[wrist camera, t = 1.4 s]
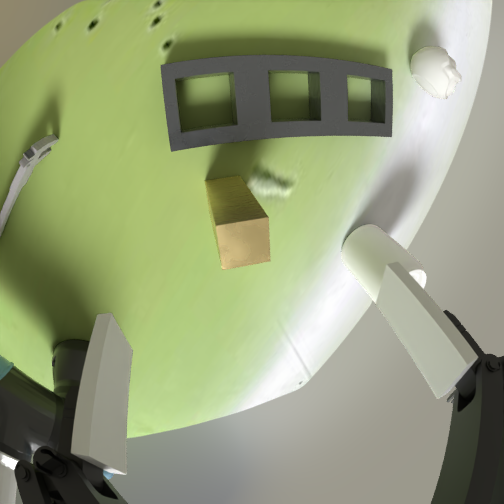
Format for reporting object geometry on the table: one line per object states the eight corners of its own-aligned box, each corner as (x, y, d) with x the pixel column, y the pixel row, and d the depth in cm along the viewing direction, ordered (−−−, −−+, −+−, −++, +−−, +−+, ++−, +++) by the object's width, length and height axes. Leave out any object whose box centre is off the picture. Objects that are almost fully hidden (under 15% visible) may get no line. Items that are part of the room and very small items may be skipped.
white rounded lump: (431, 100, 29) (469, 108, 23) (398, 88, 28) (439, 93, 21) (433, 55, 25) (470, 57, 19) (399, 39, 24) (439, 36, 17)
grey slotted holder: (377, 132, 31) (391, 137, 28) (172, 147, 27) (171, 151, 24) (377, 69, 26) (391, 69, 24) (163, 68, 22) (160, 65, 20)
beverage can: (385, 220, 39) (436, 261, 29) (375, 263, 43) (417, 308, 33) (343, 224, 37) (392, 272, 27) (335, 270, 42) (374, 323, 32)
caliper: (55, 132, 22) (29, 141, 17) (60, 138, 23) (35, 148, 18) (-8, 242, 26) (-28, 265, 20) (-4, 247, 26) (-23, 271, 21)
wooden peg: (242, 207, 33) (270, 261, 23) (209, 212, 32) (222, 270, 22) (239, 175, 30) (268, 217, 21) (204, 180, 30) (215, 225, 20)
